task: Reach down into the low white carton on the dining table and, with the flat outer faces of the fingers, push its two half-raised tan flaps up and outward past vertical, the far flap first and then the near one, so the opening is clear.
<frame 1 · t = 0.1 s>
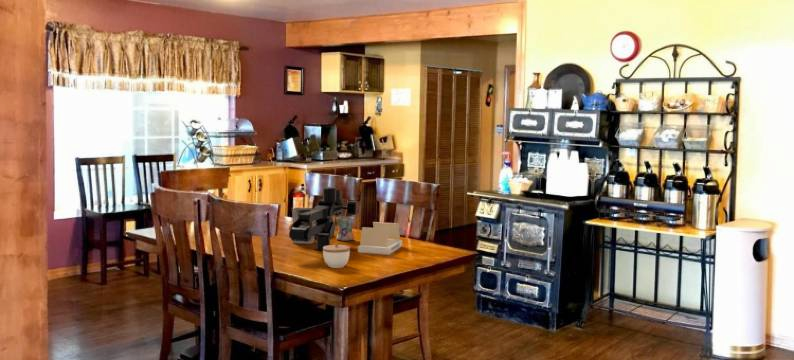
hand: (344, 205, 341), 17 cm above the table, tool horizontal, fingers open, 9 cm apart
lidded jar: (336, 266, 285), on the table
coffee box: (303, 242, 334), on the table
bread: (309, 236, 353), on the table
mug: (344, 239, 344), on the table
carton: (380, 249, 320), on the table
near flap: (374, 237, 311), point 7 cm above the table, hinge at 70.0°
far flap: (386, 230, 327), point 7 cm above the table, hinge at 70.0°
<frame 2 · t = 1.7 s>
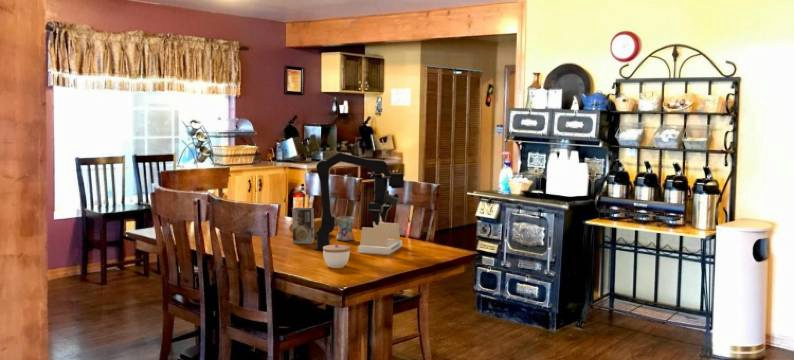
hand: (380, 223, 318), 12 cm above the table, tool pointing down, fingers open, 9 cm apart
nothing on the table moved.
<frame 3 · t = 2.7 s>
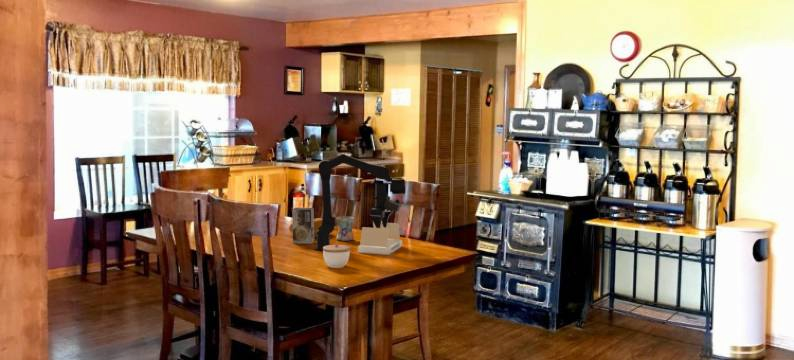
hand: (381, 228, 320), 9 cm above the table, tool pointing down, fingers open, 9 cm apart
far flap: (386, 230, 327), point 7 cm above the table, hinge at 70.1°, touching gripper
everything else where it was.
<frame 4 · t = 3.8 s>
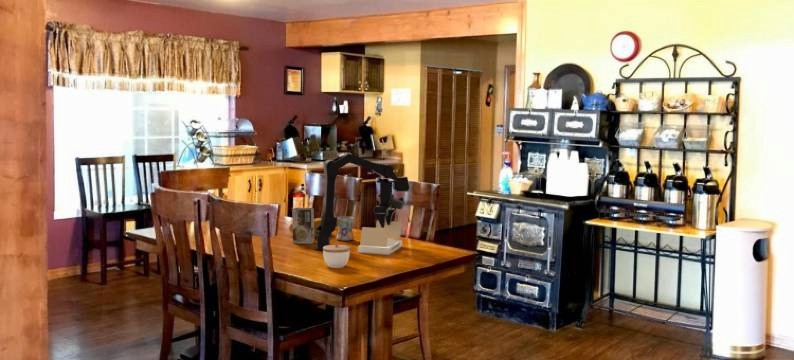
hand: (385, 226, 326), 9 cm above the table, tool pointing down, fingers open, 8 cm apart
far flap: (388, 229, 330), point 7 cm above the table, hinge at 110.3°, touching gripper
everything else where it was.
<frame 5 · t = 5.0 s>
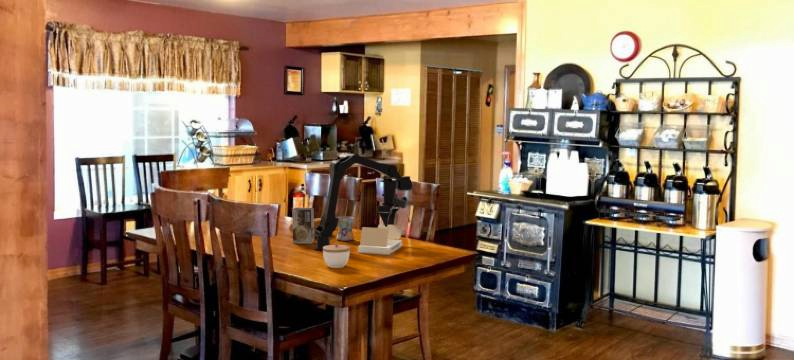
hand: (389, 225, 331), 9 cm above the table, tool pointing down, fingers open, 9 cm apart
far flap: (389, 231, 331), point 6 cm above the table, hinge at 139.9°
everything else where it was.
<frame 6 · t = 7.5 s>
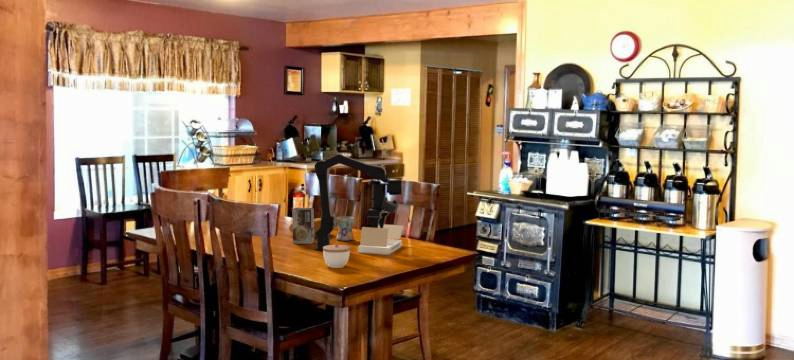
hand: (378, 230, 316), 9 cm above the table, tool pointing down, fingers open, 8 cm apart
near flap: (374, 236, 310), point 7 cm above the table, hinge at 72.7°, touching gripper
everything else where it was.
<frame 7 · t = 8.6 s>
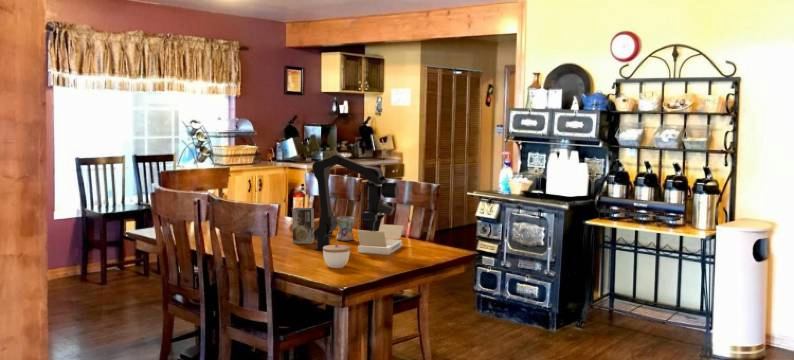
hand: (374, 232, 311), 9 cm above the table, tool pointing down, fingers open, 8 cm apart
near flap: (372, 238, 308), point 7 cm above the table, hinge at 117.1°, touching gripper
everything else where it was.
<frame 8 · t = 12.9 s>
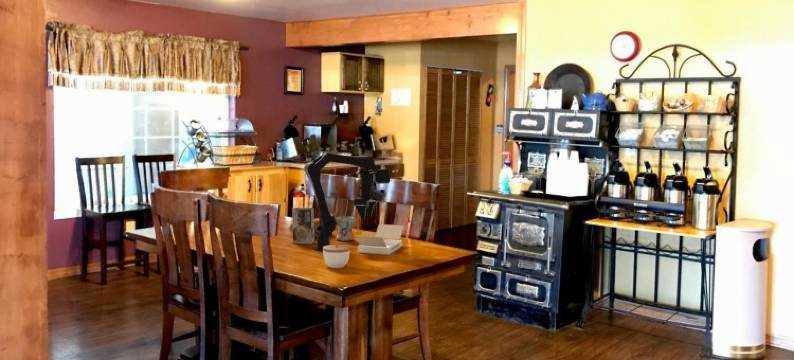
hand: (366, 218, 324), 13 cm above the table, tool pointing down, fingers open, 9 cm apart
near flap: (371, 241, 307), point 6 cm above the table, hinge at 138.8°
everything else where it was.
at the end: far flap at +140° (first picture: +70°); near flap at +139° (first picture: +70°) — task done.
